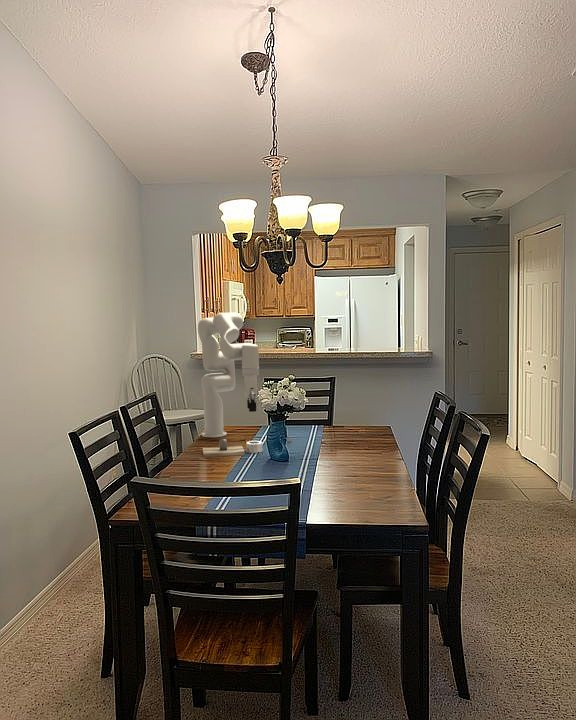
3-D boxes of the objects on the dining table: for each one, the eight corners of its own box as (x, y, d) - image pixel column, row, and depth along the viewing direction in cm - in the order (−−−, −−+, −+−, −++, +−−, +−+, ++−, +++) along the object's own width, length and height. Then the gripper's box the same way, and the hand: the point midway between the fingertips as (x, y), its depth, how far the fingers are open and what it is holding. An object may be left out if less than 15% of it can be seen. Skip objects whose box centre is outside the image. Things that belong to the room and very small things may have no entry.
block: (202, 451, 298) (202, 448, 298) (242, 449, 301) (242, 445, 300) (203, 457, 286) (203, 453, 286) (244, 454, 289) (244, 451, 289)
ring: (246, 450, 298) (245, 441, 298) (261, 449, 300) (261, 440, 299) (247, 453, 291) (247, 444, 291) (263, 452, 293) (263, 443, 292)
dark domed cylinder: (219, 449, 295) (219, 439, 294) (226, 448, 295) (226, 438, 295) (219, 450, 291) (219, 440, 291) (227, 450, 292) (227, 440, 291)
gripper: (241, 370, 300) (242, 407, 301) (243, 374, 283) (244, 413, 284) (257, 369, 301) (258, 406, 302) (260, 373, 284) (262, 412, 285)
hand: (251, 409), depth 293 cm, fingers open, 9 cm apart
